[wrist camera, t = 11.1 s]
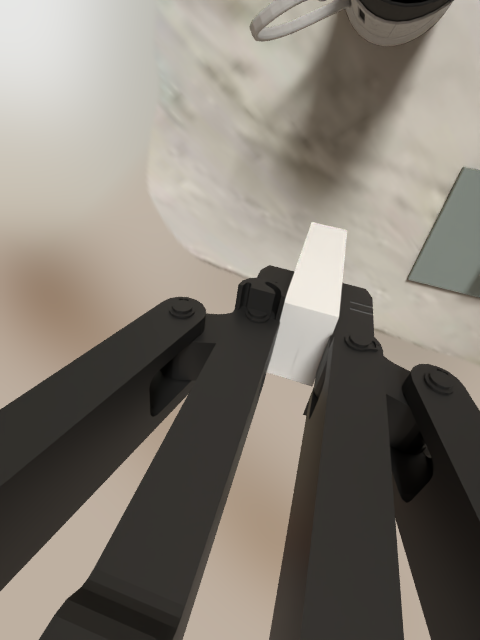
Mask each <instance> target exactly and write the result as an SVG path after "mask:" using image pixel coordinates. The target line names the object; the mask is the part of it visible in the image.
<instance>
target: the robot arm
mask: <svg viewBox="0 0 480 640" xmlns="http://www.w3.org/2000/svg"><path fill="white" fill-rule="evenodd" d="M346 238H347V230H344V229H340V228H335V227H331V226H327V225H323V224H318V223H314V222H312V223H311V226H310V229H309V231H308V234H307V237H306V240H305V243H304V246H303V249H302V252H301V255H300V257H299V260H298V263H297V266H296V269H295V272H294V271H290V270H286V269H282V268H278V267H274V266H271V265H269V266H267V267H266V268H264V269H262V270H261V271H260V273H259V275H258V277H257V278H249V279H246V280H243V281H242V282H241V283H240V284H239V285H238V292H237V299H236V305H235V310H234V311H233V312H232V313H229V314H206V309H205V307H204V306H203V304H202V303H200V302H198V301H197V300H194V299H191V298H188V297H175V298H170V299H168V300H165V301H163V302H162V303H160V304H159V305H157V306H156V307H154V308H153V309H151V310H150V311H148V312H147V313H145V314H144V315H142V316H140V317H139V318H138V319H136V320H135V321H133V322H132V323H130V324H128V325H127V326H126V327H124V328H122V329H121V330H119V331H118V332H116V333H115V334H113V335H112V336H110V337H109V338H107V339H106V340H104V341H103V342H101V343H100V344H98V345H97V346H95V347H94V348H92V349H91V350H89V351H88V352H86V353H85V354H83V355H82V356H80V357H79V358H77V359H76V360H74V361H73V362H71V363H70V364H68V365H67V366H65V367H64V368H62V369H61V370H59V371H58V372H56V373H55V374H53V375H52V376H50V377H49V378H47V379H46V380H44V381H43V382H41V383H40V384H38V385H37V386H35V387H34V388H32V389H31V390H29V391H28V392H26V393H25V394H23V395H22V396H20V397H18V398H17V399H16V400H14V401H13V402H11V403H9V404H8V405H6V406H5V407H4V408H2V409H0V591H1V590H2V589H3V588H4V587H5V586H6V585H7V584H8V583H9V581H10V580H11V579H12V578H13V577H14V576H15V575H16V574H17V573H18V572H19V571H20V570H21V569H22V568H23V567H24V566H25V565H26V564H27V562H28V561H30V559H31V558H32V557H33V556H34V555H35V554H36V553H37V552H38V551H39V550H40V549H41V548H42V547H43V546H44V545H45V544H46V543H47V541H49V540H50V539H51V537H52V536H53V535H54V534H55V533H56V532H57V531H58V530H59V529H60V528H61V527H62V526H63V525H64V524H65V523H66V521H68V520H69V519H70V517H72V515H73V514H74V513H75V512H76V511H77V510H78V509H79V508H80V507H81V506H82V505H83V504H84V503H85V502H86V501H87V500H88V499H89V498H90V497H91V496H92V495H93V493H94V492H95V491H96V490H97V489H98V488H99V487H100V486H101V485H102V484H103V483H104V482H105V481H106V480H107V479H108V478H109V477H110V475H112V474H113V472H114V471H115V470H116V469H117V468H118V467H119V466H120V465H121V464H122V463H123V462H124V461H125V460H126V459H127V458H128V457H129V456H130V454H131V453H133V452H134V450H135V449H136V448H137V447H138V446H139V445H140V444H141V443H142V442H143V441H144V440H145V439H146V438H147V437H148V436H149V435H150V433H152V432H153V431H154V429H155V428H156V427H157V426H158V425H159V424H160V423H161V422H162V421H163V420H164V419H165V418H166V417H167V416H168V415H169V414H170V412H172V411H173V409H175V407H176V406H177V405H178V404H179V403H180V402H181V401H182V400H183V399H184V398H185V397H186V396H187V395H188V396H187V398H186V400H185V402H184V404H183V405H182V407H181V409H180V411H179V413H178V415H177V416H176V418H175V420H174V422H173V424H172V426H171V427H170V429H169V431H168V433H167V435H166V437H165V439H164V441H163V442H162V444H161V446H160V448H159V450H158V452H157V453H156V455H155V457H154V459H153V461H152V463H151V464H150V466H149V468H148V470H147V472H146V474H145V475H144V477H143V479H142V481H141V483H140V485H139V487H138V488H137V490H136V492H135V494H134V496H133V498H132V499H131V501H130V503H129V505H128V507H127V509H126V510H125V512H124V514H123V516H122V518H121V520H120V521H119V524H118V525H117V527H116V529H115V531H114V533H113V534H112V537H111V538H110V540H109V542H108V544H107V545H106V547H105V549H104V551H103V553H102V555H101V557H100V558H99V560H98V562H97V564H96V566H95V568H94V570H93V571H92V573H91V574H90V576H89V578H88V579H87V580H86V582H85V583H84V584H83V586H82V587H81V588H80V589H79V590H77V591H76V592H75V593H74V594H72V595H71V596H70V597H69V598H68V599H67V600H66V601H65V602H64V603H63V605H62V606H61V607H60V609H59V610H58V611H57V613H56V614H55V615H54V617H53V618H52V620H51V621H50V623H49V625H48V626H47V628H46V629H45V631H44V633H43V634H42V636H41V637H40V639H39V640H182V639H183V636H184V633H185V630H186V627H187V624H188V621H189V617H190V614H191V611H192V608H193V605H194V602H195V599H196V595H197V592H198V589H199V586H200V583H201V579H202V576H203V573H204V570H205V567H206V564H207V561H208V557H209V554H210V551H211V548H212V545H213V542H214V539H215V535H216V532H217V529H218V525H219V523H220V519H221V516H222V513H223V510H224V507H225V504H226V501H227V497H228V494H229V491H230V488H231V485H232V482H233V478H234V475H235V472H236V469H237V466H238V463H239V460H240V456H241V453H242V450H243V447H244V444H245V441H246V437H247V434H248V431H249V428H250V425H251V422H252V419H253V415H254V412H255V409H256V406H257V403H258V400H259V396H260V393H261V390H262V387H263V383H264V380H265V376H266V372H267V373H270V374H274V375H277V376H280V377H284V378H287V379H290V380H293V381H296V382H300V383H303V384H306V385H310V386H312V385H313V383H314V380H315V384H314V388H313V391H312V393H311V396H310V398H309V401H308V403H307V406H306V409H305V411H304V414H303V415H306V422H305V428H304V434H303V440H302V446H301V452H300V458H299V464H298V470H297V476H296V482H295V488H294V494H293V500H292V506H291V512H290V518H289V524H288V530H287V536H286V542H285V548H284V554H283V560H282V566H281V572H280V578H279V584H278V590H277V596H276V602H275V608H274V614H273V620H272V626H271V632H270V638H269V640H404V633H403V620H402V607H401V592H400V579H399V565H398V553H397V538H396V524H395V518H396V522H397V525H398V529H399V532H400V535H401V539H402V542H403V546H404V549H405V552H406V555H407V559H408V562H409V566H410V569H411V573H412V576H413V580H414V583H415V586H416V590H417V593H418V596H419V600H420V603H421V606H422V610H423V613H424V617H425V620H426V624H427V627H428V630H429V634H430V637H431V640H480V411H479V410H478V408H477V406H476V405H475V403H474V401H473V400H472V398H471V397H470V395H469V393H468V392H467V390H466V388H465V387H464V386H463V384H462V383H461V382H460V381H459V380H458V379H457V378H456V377H455V376H453V375H452V374H451V373H449V372H448V371H446V370H444V369H442V368H440V367H437V366H433V365H429V364H419V365H417V366H415V367H413V369H412V370H411V372H410V371H408V370H406V369H404V368H402V367H400V366H398V365H396V364H394V363H393V362H391V361H389V360H388V359H387V358H385V357H384V356H383V350H382V347H381V344H380V343H379V342H378V341H377V339H376V338H375V337H374V324H373V308H372V307H373V303H372V297H371V296H370V294H369V293H368V291H367V290H366V289H364V288H360V287H356V286H352V285H348V284H344V283H342V280H343V269H344V259H345V248H346Z"/></svg>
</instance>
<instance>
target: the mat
mask: <svg viewBox="0 0 480 640" xmlns="http://www.w3.org/2000/svg"><path fill="white" fill-rule="evenodd" d="M408 280H411V281H415V282H419V283H423V284H427V285H431V286H435V287H439V288H443V289H447V290H451V291H455V292H459V293H463V294H467V295H471V296H475V297H479V298H480V170H476V169H471V168H466V167H463V168H462V170H461V172H460V174H459V176H458V178H457V180H456V182H455V184H454V186H453V188H452V190H451V192H450V194H449V196H448V198H447V200H446V202H445V204H444V206H443V208H442V210H441V212H440V214H439V216H438V218H437V220H436V222H435V224H434V226H433V228H432V230H431V232H430V234H429V236H428V238H427V240H426V242H425V244H424V246H423V248H422V250H421V252H420V254H419V256H418V258H417V260H416V262H415V264H414V266H413V268H412V270H411V272H410V274H409V276H408Z"/></svg>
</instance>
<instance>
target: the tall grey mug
mask: <svg viewBox="0 0 480 640" xmlns="http://www.w3.org/2000/svg"><path fill="white" fill-rule="evenodd" d="M304 1H307V0H274V1H272V2H271V3H270V4H269V5H267V6H266V7H265V8H264V9H263V10H261V11H260V12H259V13H258V14H257V15H256V16H255V18H254V19H253V20H252V22H251V24H250V30H251V33H252V36H253V37H254V39H255V40H256V41H270V40H274V39H277V38H281V37H284V36H287V35H289V34H292V33H294V32H297V31H299V30H301V29H303V28H305V27H307V26H310V25H312V24H314V23H316V22H318V21H320V20H322V19H324V18H326V17H328V16H331V15H333V14H335V13H337V12H339V11H341V10H343V9H346V12H347V15H348V18H349V20H350V22H351V24H352V26H353V28H354V29H355V30H356V31H357V33H358V34H359V35H360V36H361V37H363V38H364V39H365V40H367V41H368V42H371V43H373V44H375V45H380V46H396V45H400V44H404V43H407V42H409V41H411V40H414V39H415V38H417V37H419V36H420V35H422V34H423V33H425V32H426V31H427V30H428V29H430V28H431V27H432V26H433V25H434V24H435V23H436V22H437V21H438V20H439V19H440V18H441V17H442V15H443V14H444V13H445V12H446V10H447V9H448V7H449V6H450V5H451V3H452V2H453V1H454V0H335V1H332V2H330V3H328V4H326V5H324V6H322V7H320V8H318V9H315V10H313V11H311V12H309V13H307V14H305V15H303V16H300V17H298V18H296V19H294V20H291V21H289V22H286V23H283V24H280V25H277V26H273V27H268V28H264V27H265V26H267V25H268V24H269V23H270V22H272V21H273V20H274V19H275V18H277V17H278V16H280V15H281V14H283V13H284V12H286V11H287V10H289V9H291V8H292V7H294V6H296V5H298V4H300V3H302V2H304ZM319 1H326V0H319Z"/></svg>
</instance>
